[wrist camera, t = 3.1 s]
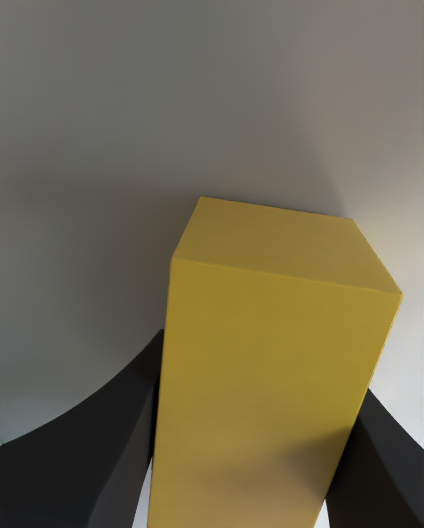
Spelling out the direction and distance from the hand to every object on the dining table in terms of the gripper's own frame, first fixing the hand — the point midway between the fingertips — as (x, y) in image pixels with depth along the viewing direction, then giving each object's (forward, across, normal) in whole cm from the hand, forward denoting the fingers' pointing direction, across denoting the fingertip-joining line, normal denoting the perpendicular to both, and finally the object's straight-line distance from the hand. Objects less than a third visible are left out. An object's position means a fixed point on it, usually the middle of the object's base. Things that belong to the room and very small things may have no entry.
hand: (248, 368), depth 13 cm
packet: (+1, 0, 0) cm, 1 cm away
